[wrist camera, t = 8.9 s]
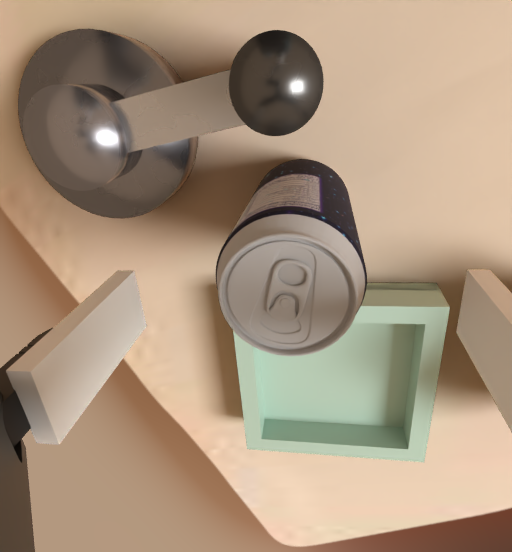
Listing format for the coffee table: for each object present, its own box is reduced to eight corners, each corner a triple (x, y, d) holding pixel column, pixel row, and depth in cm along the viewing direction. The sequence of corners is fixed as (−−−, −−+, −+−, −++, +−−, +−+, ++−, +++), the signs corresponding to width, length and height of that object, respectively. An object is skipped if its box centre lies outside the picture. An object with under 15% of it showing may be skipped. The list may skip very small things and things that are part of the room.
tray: (238, 282, 27) (230, 304, 25) (436, 283, 25) (449, 307, 22) (253, 419, 33) (247, 449, 30) (415, 429, 31) (424, 462, 28)
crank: (81, 185, 24) (-40, 238, 16) (44, 96, 22) (-117, 106, 14) (330, 129, 20) (335, 161, 12) (313, 17, 18) (307, -32, 10)
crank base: (18, 42, 22) (-13, 38, 20) (184, 23, 21) (169, 17, 19) (67, 210, 27) (46, 221, 25) (208, 206, 25) (198, 217, 23)
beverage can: (249, 235, 26) (198, 346, 15) (265, 147, 23) (217, 205, 12) (334, 254, 25) (344, 380, 15) (360, 167, 23) (394, 243, 12)
